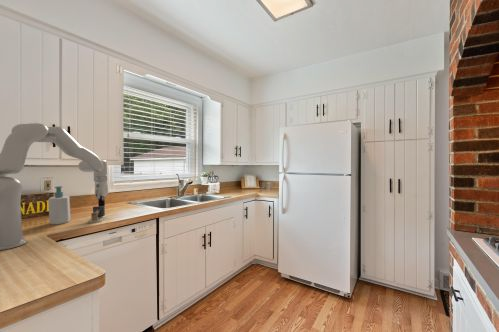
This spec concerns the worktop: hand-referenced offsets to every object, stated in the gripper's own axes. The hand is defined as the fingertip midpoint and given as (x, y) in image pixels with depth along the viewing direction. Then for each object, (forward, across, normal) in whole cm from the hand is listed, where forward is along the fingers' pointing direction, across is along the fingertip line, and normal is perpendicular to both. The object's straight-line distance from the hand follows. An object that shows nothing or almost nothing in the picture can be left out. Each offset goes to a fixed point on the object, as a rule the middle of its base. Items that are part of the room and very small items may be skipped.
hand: (101, 206), depth 157 cm
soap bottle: (+7, -7, +20) cm, 23 cm away
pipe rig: (+7, -8, 0) cm, 10 cm away
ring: (+5, -5, 0) cm, 7 cm away
